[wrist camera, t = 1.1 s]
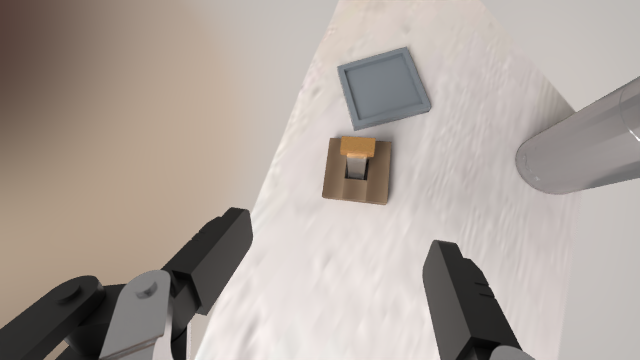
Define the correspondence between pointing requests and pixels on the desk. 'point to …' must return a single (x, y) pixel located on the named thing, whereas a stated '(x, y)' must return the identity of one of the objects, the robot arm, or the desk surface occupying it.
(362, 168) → the key
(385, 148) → the socket plate
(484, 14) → the desk surface
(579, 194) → the desk surface
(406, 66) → the tray
